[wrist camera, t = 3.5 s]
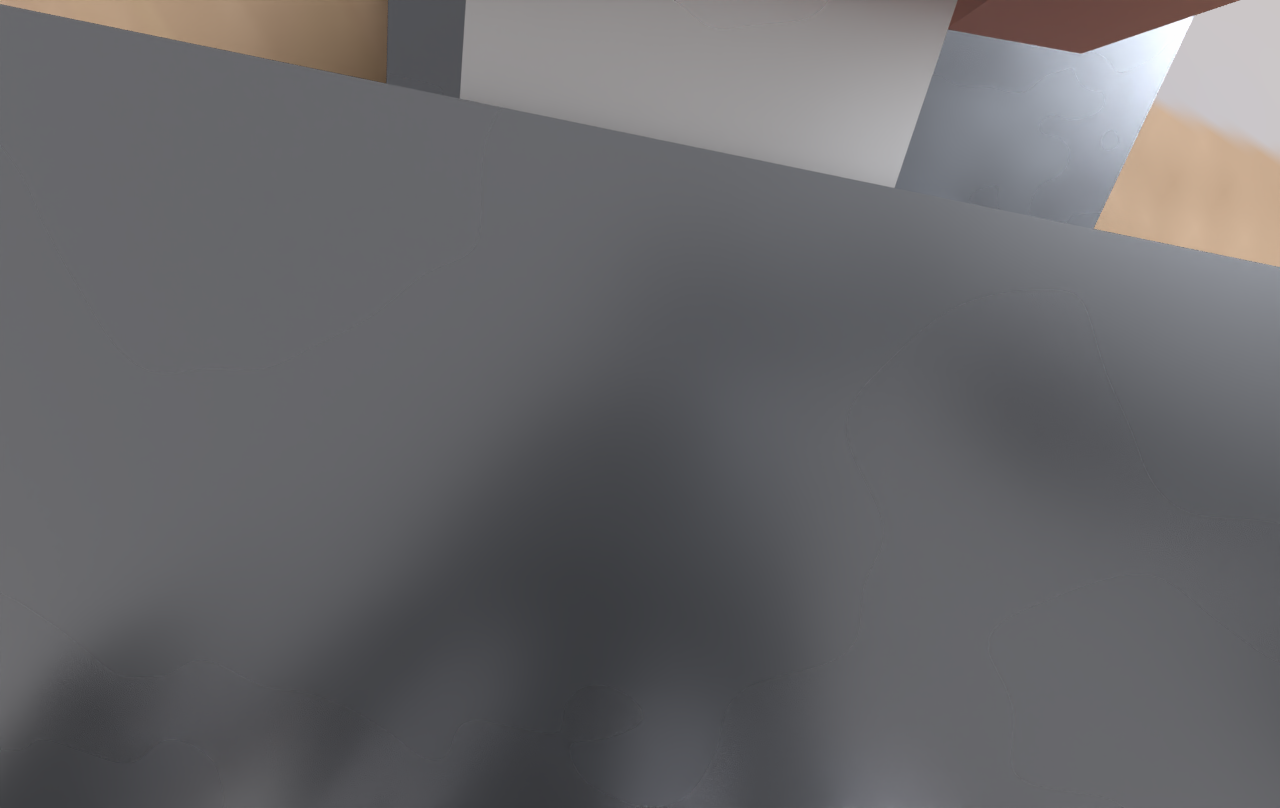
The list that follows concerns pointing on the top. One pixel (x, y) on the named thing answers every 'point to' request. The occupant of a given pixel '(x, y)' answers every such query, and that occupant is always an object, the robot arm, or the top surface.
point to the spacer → (1071, 20)
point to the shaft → (719, 73)
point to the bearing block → (615, 449)
